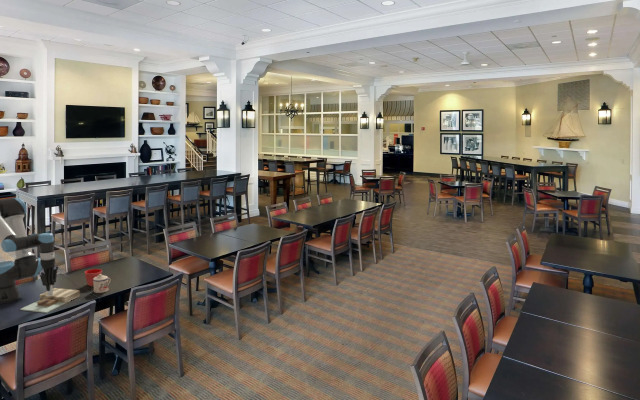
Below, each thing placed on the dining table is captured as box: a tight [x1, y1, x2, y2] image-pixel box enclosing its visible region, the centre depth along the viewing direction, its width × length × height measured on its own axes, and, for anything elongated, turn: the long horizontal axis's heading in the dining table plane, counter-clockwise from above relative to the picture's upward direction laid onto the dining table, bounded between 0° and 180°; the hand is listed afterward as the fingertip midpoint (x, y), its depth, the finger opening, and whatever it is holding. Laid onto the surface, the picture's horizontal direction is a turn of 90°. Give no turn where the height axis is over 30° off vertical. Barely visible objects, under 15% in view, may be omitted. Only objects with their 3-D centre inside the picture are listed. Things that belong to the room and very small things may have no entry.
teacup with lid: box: [93, 273, 111, 294], centre depth 276 cm, size 12×9×12 cm
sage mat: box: [19, 299, 66, 314], centre depth 248 cm, size 18×14×1 cm
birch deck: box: [39, 287, 81, 305], centre depth 260 cm, size 18×12×4 cm, turn 81°
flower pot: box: [84, 268, 103, 287], centre depth 286 cm, size 11×11×10 cm
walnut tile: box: [36, 298, 58, 307], centre depth 251 cm, size 8×7×2 cm
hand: (50, 295), depth 253 cm, fingers closed
